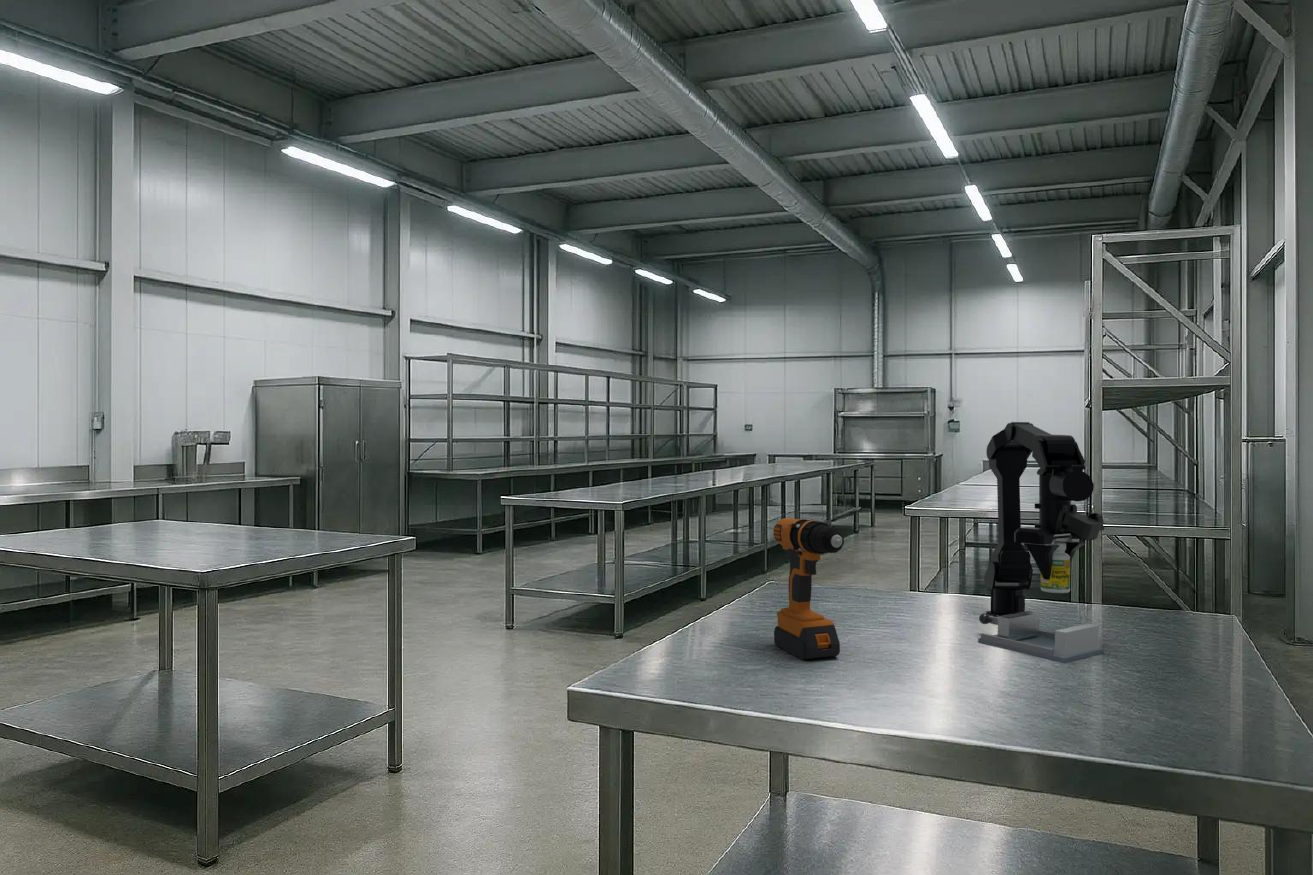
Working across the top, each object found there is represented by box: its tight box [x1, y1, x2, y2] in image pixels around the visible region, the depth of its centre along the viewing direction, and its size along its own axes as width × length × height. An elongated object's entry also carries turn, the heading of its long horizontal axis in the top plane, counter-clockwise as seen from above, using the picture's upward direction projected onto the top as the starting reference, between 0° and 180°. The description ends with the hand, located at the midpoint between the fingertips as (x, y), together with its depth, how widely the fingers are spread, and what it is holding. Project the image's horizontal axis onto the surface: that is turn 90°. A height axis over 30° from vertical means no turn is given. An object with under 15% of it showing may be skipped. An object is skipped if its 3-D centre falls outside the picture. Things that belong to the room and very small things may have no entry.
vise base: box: [977, 623, 1105, 664], centre depth 169 cm, size 18×13×5 cm
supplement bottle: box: [1040, 542, 1071, 594], centre depth 174 cm, size 5×5×10 cm
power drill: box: [773, 517, 845, 661], centre depth 163 cm, size 22×7×25 cm, turn 18°
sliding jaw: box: [978, 610, 1040, 640], centre depth 176 cm, size 10×10×4 cm
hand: (1054, 578), depth 174 cm, fingers closed on supplement bottle, 5 cm apart
